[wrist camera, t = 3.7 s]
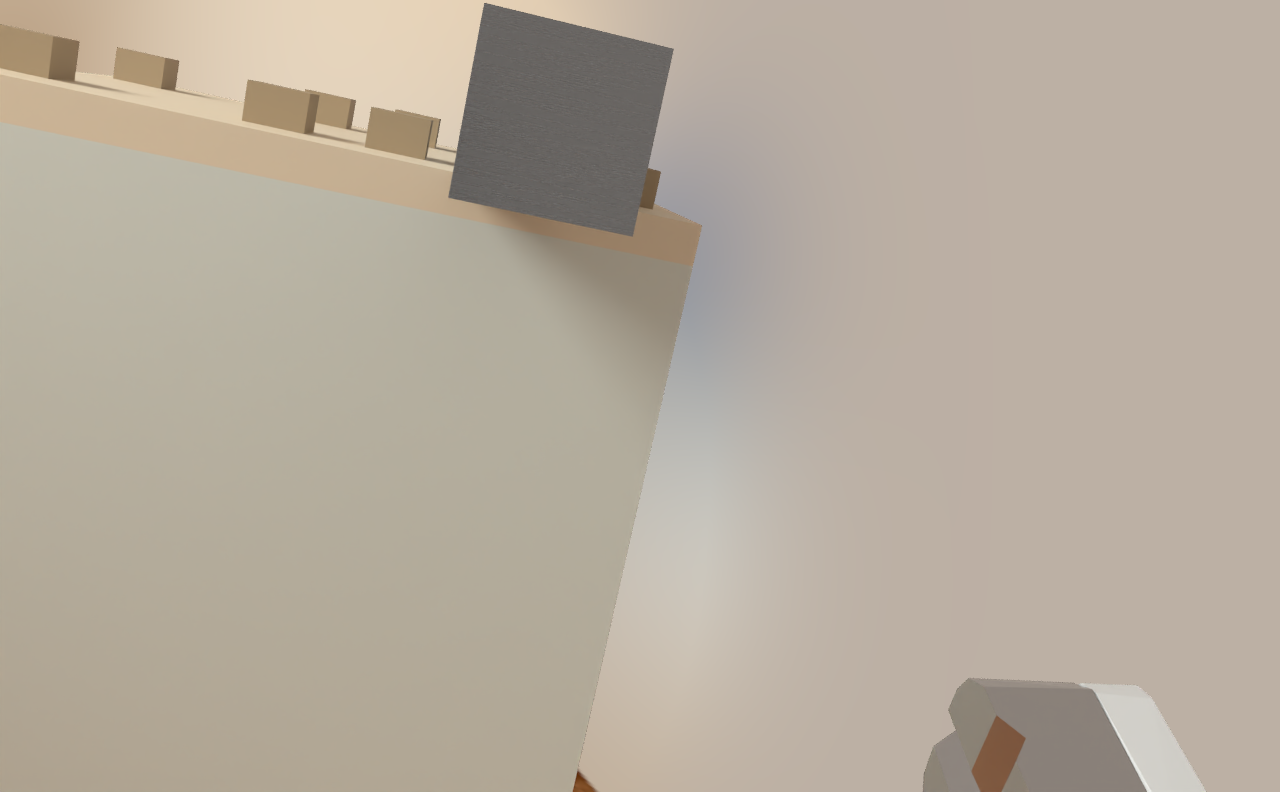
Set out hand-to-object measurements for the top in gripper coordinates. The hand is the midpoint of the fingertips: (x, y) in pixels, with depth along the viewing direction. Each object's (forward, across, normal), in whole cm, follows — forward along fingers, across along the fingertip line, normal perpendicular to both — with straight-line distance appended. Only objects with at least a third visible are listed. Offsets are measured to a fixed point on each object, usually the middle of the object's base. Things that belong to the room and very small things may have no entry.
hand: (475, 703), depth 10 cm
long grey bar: (+24, 0, -5) cm, 24 cm away
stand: (+20, -7, -31) cm, 37 cm away
